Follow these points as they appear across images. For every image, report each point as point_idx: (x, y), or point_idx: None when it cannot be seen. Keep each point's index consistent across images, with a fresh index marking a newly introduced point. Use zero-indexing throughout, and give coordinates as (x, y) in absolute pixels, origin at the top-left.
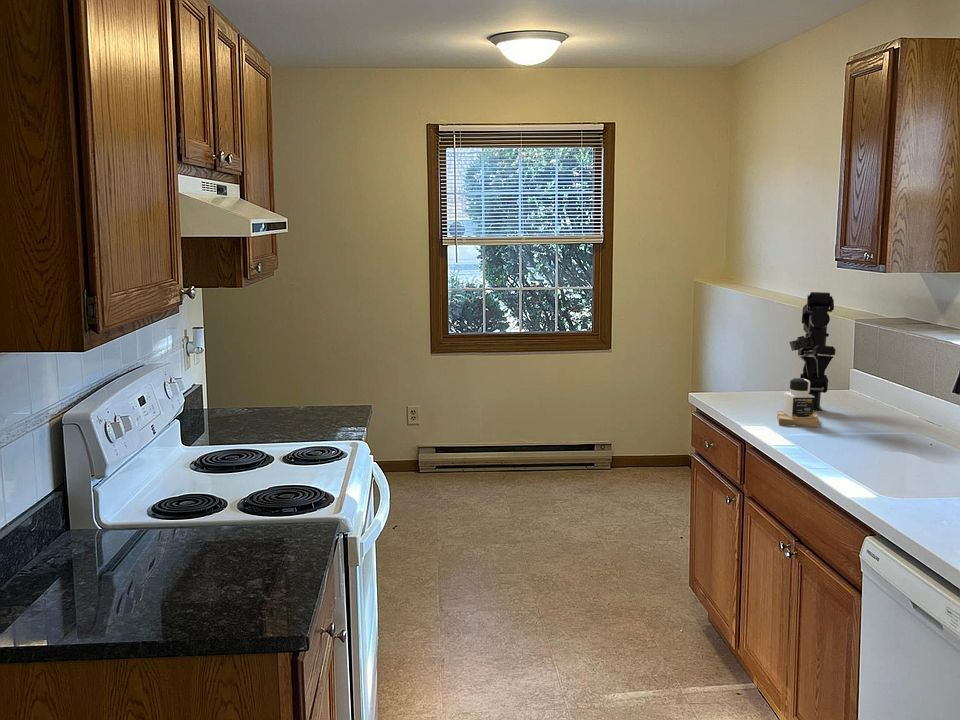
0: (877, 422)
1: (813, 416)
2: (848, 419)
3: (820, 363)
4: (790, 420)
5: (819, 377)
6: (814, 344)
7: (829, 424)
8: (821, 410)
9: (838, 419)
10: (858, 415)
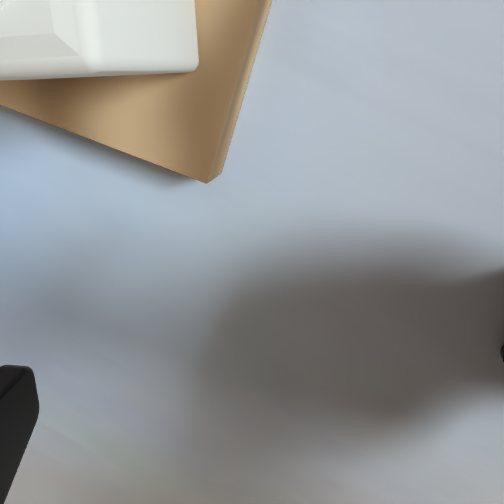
0: (155, 479)
1: (93, 109)
2: (224, 384)
3: None
4: None
5: (29, 388)
6: None
7: (79, 199)
8: (501, 357)
9: (224, 328)
10: (331, 493)
